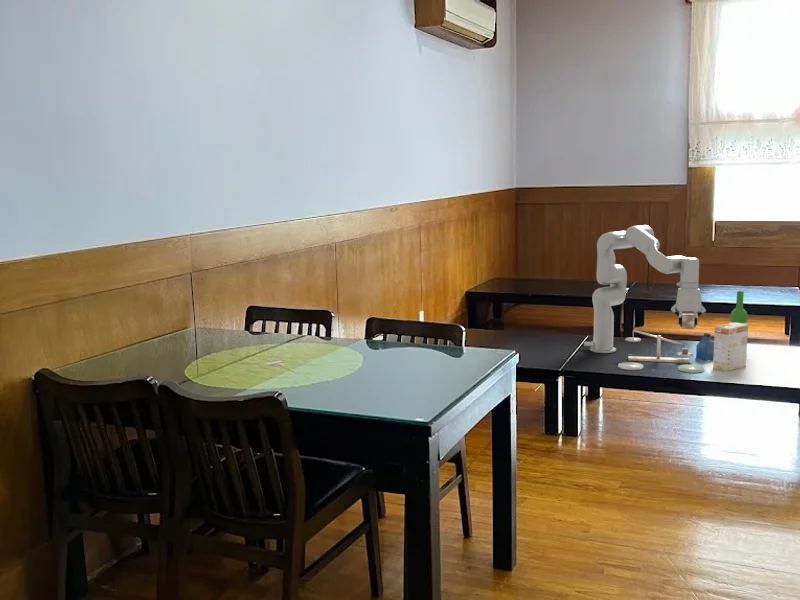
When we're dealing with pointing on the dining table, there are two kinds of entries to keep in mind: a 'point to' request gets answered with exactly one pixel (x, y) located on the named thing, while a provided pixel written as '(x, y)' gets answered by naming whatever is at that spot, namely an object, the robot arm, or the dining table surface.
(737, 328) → the coffeecake box
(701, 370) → the sage dish
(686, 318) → the birch block
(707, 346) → the perfume bottle
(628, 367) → the white dish
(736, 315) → the wine bottle
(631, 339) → the balance scale
